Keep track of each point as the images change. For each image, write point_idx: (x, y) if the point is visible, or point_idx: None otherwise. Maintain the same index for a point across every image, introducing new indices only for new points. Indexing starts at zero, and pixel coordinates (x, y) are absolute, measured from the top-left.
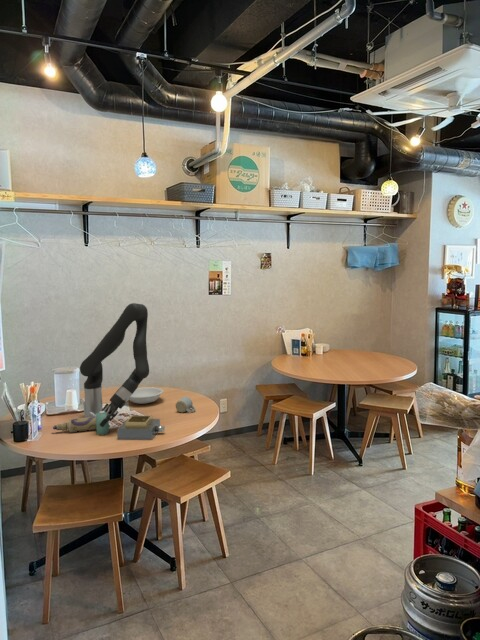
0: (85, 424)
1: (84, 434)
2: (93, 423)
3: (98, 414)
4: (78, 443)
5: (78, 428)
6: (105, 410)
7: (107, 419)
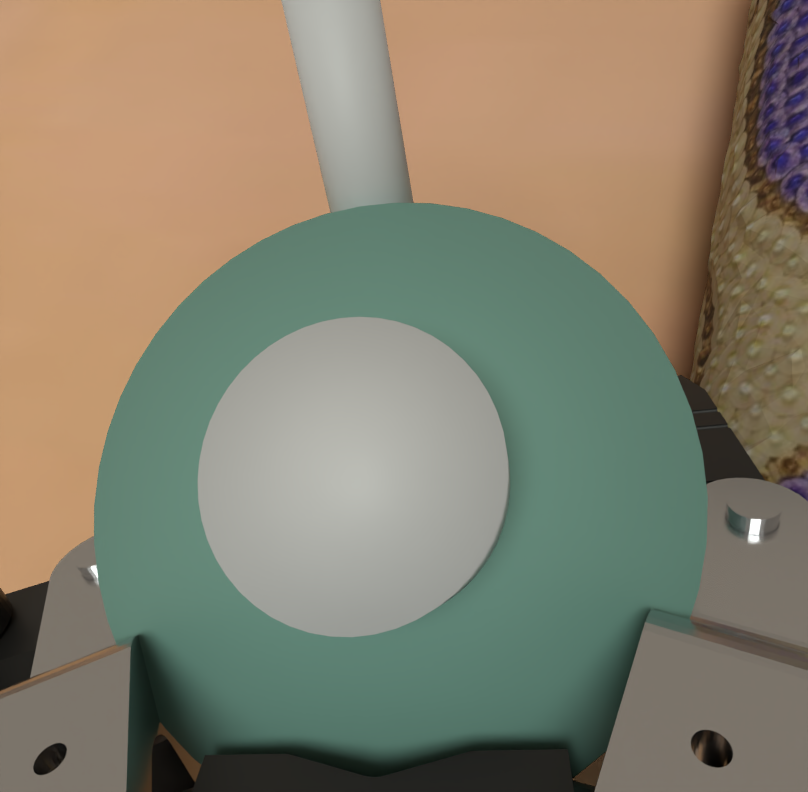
0: (749, 153)
1: (567, 213)
2: (724, 332)
3: (325, 308)
4: (202, 111)
5: (740, 69)
6: (603, 782)
7: (25, 607)
